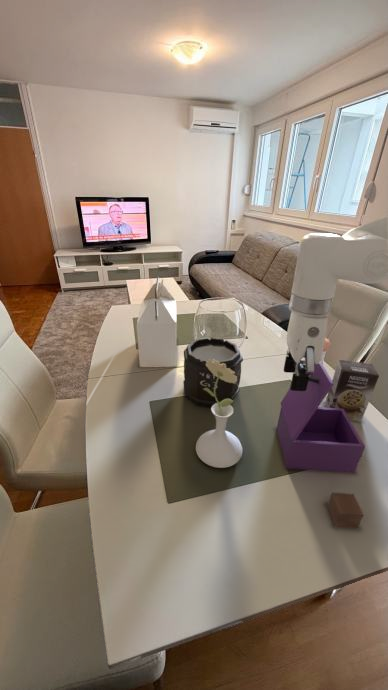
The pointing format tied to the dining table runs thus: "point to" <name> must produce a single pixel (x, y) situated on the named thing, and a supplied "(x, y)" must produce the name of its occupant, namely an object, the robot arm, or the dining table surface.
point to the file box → (322, 442)
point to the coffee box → (352, 388)
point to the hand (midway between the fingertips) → (294, 379)
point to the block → (345, 510)
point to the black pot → (203, 378)
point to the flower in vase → (219, 426)
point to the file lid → (305, 400)
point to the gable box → (157, 328)
